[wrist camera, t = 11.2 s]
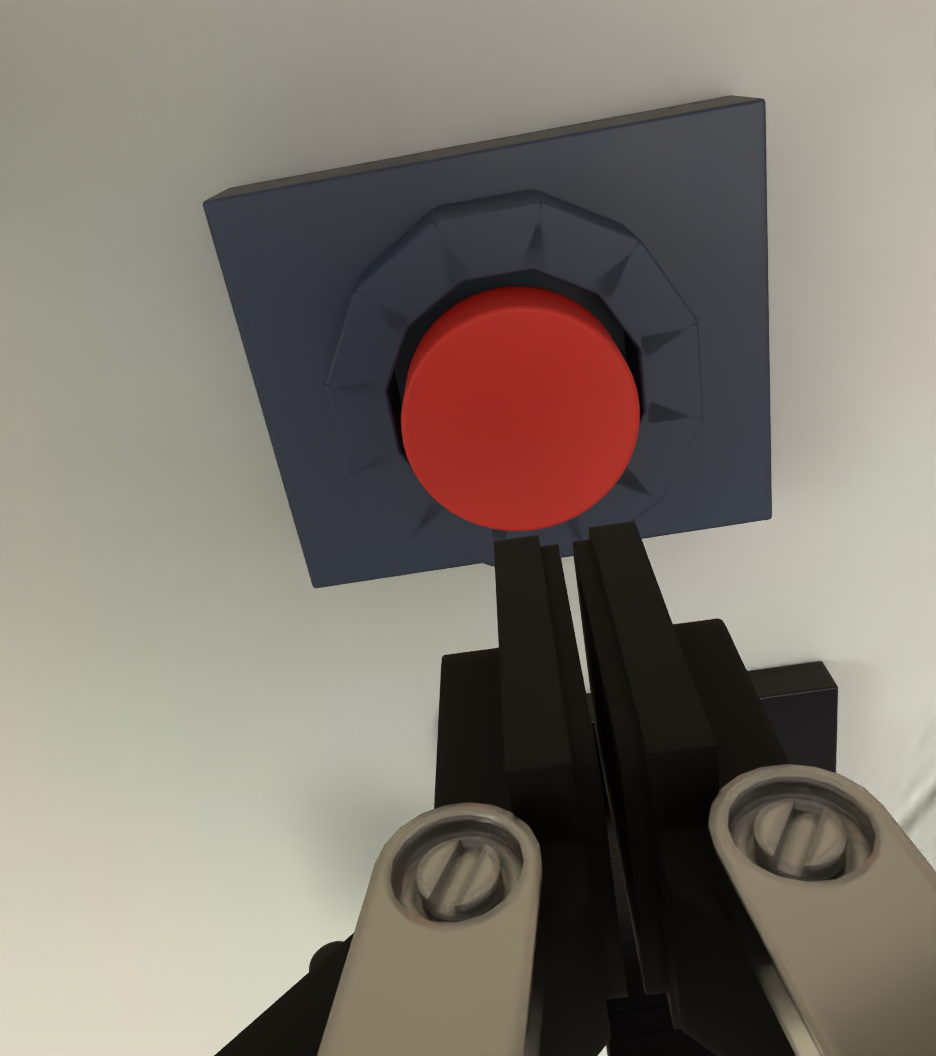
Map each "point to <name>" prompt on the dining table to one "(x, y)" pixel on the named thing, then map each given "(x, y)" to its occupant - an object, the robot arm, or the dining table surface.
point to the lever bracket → (637, 1020)
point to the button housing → (498, 261)
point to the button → (518, 409)
